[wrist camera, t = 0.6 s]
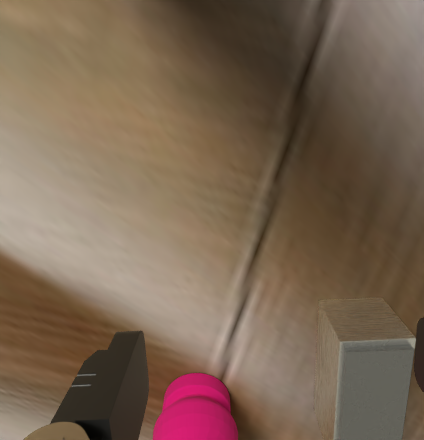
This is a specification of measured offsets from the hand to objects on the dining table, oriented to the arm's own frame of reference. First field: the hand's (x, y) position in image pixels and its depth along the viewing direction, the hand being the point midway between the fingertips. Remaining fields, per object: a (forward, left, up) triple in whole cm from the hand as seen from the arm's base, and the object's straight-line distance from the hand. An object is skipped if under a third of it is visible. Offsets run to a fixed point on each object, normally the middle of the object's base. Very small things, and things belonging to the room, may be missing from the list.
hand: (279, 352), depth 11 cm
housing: (+16, +10, -20) cm, 28 cm away
